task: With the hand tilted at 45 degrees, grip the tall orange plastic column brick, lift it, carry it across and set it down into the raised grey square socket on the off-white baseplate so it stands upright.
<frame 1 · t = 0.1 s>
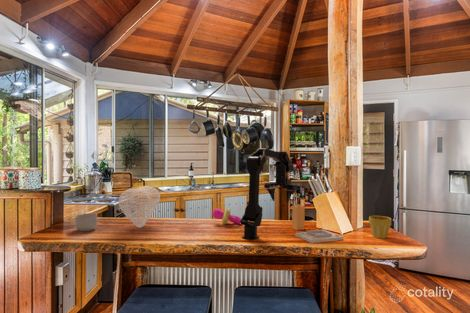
hand: (280, 201, 175), 15 cm above the counter, tool pointing down, fingers open, 9 cm apart
baseplate: (318, 237, 155), on the counter
column brick: (298, 228, 173), on the counter
heart: (140, 227, 172), on the counter
teacup: (86, 229, 167), on the counter
toy: (226, 224, 183), on the counter
plant pot: (379, 237, 158), on the counter
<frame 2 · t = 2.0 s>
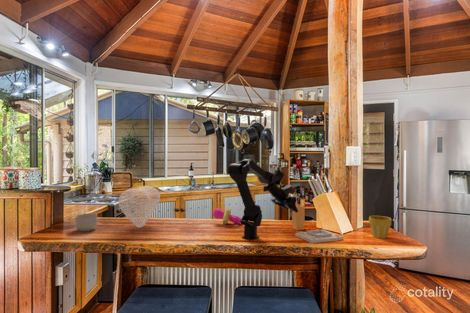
hand: (292, 210, 172), 10 cm above the counter, tool tilted 45°, fingers open, 9 cm apart
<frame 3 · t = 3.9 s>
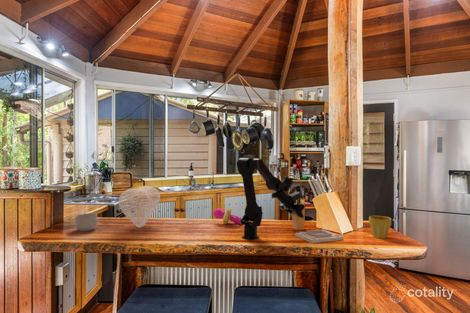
hand: (300, 216, 174), 7 cm above the counter, tool tilted 45°, fingers closed on column brick, 5 cm apart
column brick: (298, 228, 173), on the counter, touching gripper
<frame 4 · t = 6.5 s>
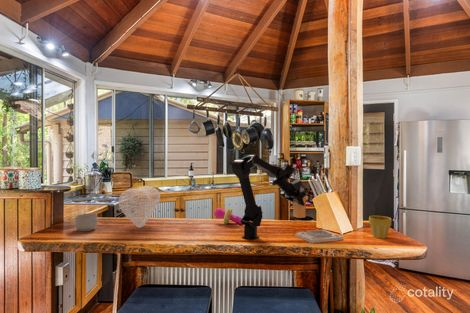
hand: (301, 204, 173), 13 cm above the counter, tool tilted 45°, fingers closed on column brick, 5 cm apart
column brick: (299, 216, 172), point 7 cm above the counter, touching gripper
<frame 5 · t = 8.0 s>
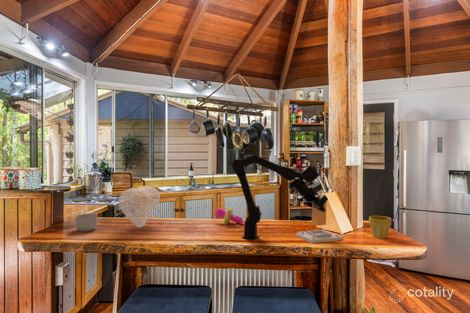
hand: (321, 210, 156), 13 cm above the counter, tool tilted 45°, fingers closed on column brick, 5 cm apart
column brick: (318, 224, 155), point 7 cm above the counter, touching gripper
when the fingers open (9 cm above the counter, at t = 9.3 s): column brick stays where it is, resting on baseplate.
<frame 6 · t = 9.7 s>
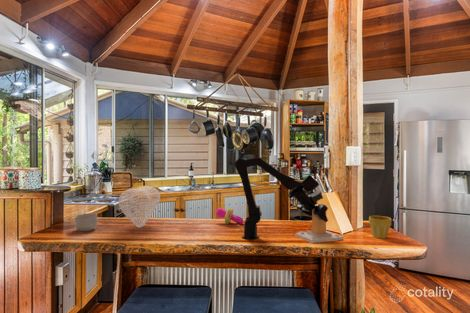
hand: (321, 219, 156), 9 cm above the counter, tool tilted 45°, fingers open, 9 cm apart
column brick: (318, 234, 155), point 1 cm above the counter, touching baseplate
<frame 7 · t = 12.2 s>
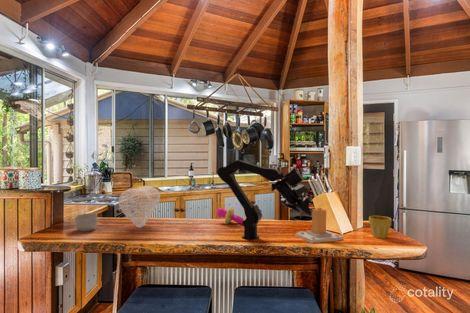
hand: (305, 213, 152), 13 cm above the counter, tool tilted 45°, fingers open, 9 cm apart
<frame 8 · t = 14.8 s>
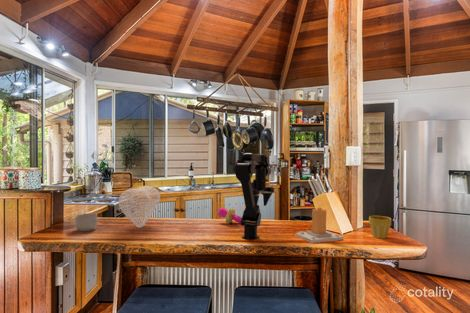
hand: (260, 206, 167), 13 cm above the counter, tool pointing down, fingers open, 9 cm apart
at the end: column brick 0.1 cm off-centre on the baseplate, point 1.4 cm above the baseplate's base; column brick tilted 0°; the gripper is holding nothing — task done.
